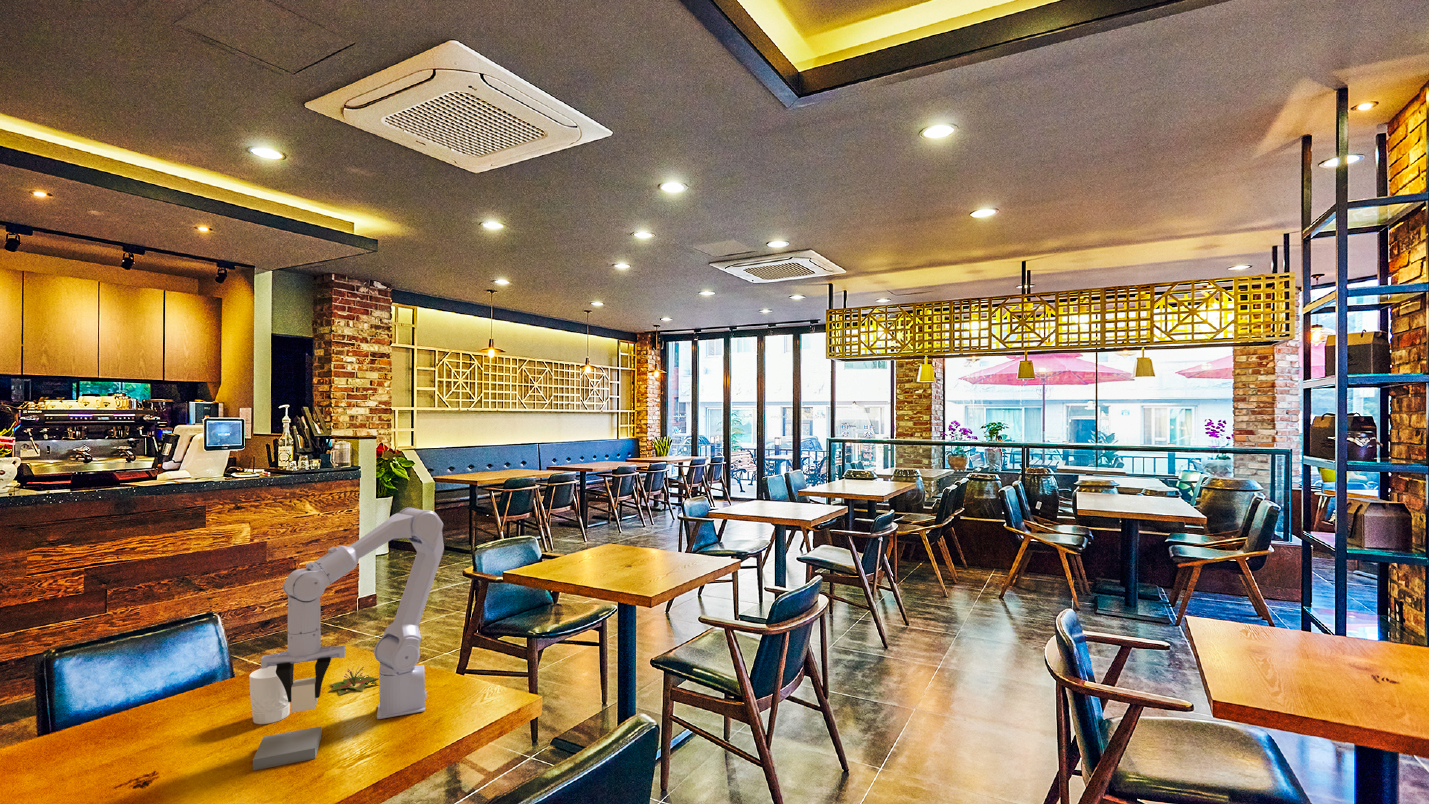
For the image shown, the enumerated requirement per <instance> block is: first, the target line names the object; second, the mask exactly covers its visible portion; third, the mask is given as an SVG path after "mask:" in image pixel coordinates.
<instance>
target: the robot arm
mask: <svg viewBox="0 0 1429 804" xmlns="http://www.w3.org/2000/svg"><path fill="white" fill-rule="evenodd" d="M443 528H444V523H443V521H442V519H441V518H440V516H439V515H438V514H437V513H436V511H433V510H429V509H428V510H427V509H426V510H424V509H419V508H416V507H413V506H412V507H411V506H408V507H405V508H403V509H401V510H400V511H399V512H397V513H395V514H392V515H391V516H389V518H387V519H386V520H385V521H384V522H382V523H381V524H379V525H378V526H377V527H375V528H373V529H372V530H370V531H369V532H368V533H366V534H365V535H364V536H362V537H361V538H359V539H358V540H357V541H355V542H353V543H352V544H350V545H348V546H345V545H338V546H337V547H335V546H331V547H330V548H328V549H327V551H328V552H327V553H325V554H324V555H322V556H320V557H319V558H318V559H316V560H314V561H313V562H311V561H309V562H308V563H306V564H305V566H306V567H305V568H298V569H295V570H292V572H291V573H289V574H288V576H287V578H286V579H285V581H284V583H283V584H282V590H283V592H284V593H285V594H286V595H287V651H283V652H282V651H281V652H278V653H274V654H268V655H262V657H261V658H260V669H263V668H267V667H270V666H277V668H276V674H277V676H278V677H279V679H280V680H281V682H282V684H283V686H284V688H285V691H286V694H287V698H288V702H290V703H291V687H292V685H293V683H294V667H295V664H299V663H306V662H314V661H316V662H315V665H314V673H315V677H316V686H315V698H320V696H321V690H322V686H323V685H322V684H323V680H324V677H325V675H326V673H327V670H328V668H329V667H330V663H331V661H332V659H336V658H339V659H345V657H346V650H347V649H346V646H347V645H336V646H332V645H331V646H322V645H321V644H322V643H321V642H322V641H321V640H322V639H321V638H322V635H321V634H322V632H321V630H322V629H321V625H322V623H321V616H322V615H321V614H322V613H321V608H322V607H321V597H322V596H323V594H324V593H325V590H326V589H327V587H328V586H330V585H331V584H333V583H334V582H336V581H337V580H339V579H341V578H343V577H344V576H346V575H348V574H349V573H350V572H352V571H353V570H354V569H356V568H357V566H358V563H359V560H360V559H361V558H363V557H365V556H366V555H368V554H369V553H371V552H373V551H374V550H376V549H378V548H380V547H381V546H383V545H385V544H388V542H390V541H392V540H394V539H408V540H409V542H410V543H411V544H412V546H413V548H414V549H415V551H416V555H415V558H414V561H413V563H412V566H411V569H410V573H409V576H408V578H407V581H406V584H405V588H404V590H403V593H402V596H401V599H400V602H399V605H398V607H397V611H396V614H395V617H394V618H393V622H391V623H390V624H389V625H388V626H387V627H386V628H385V630H384V632H383V635H382V636H381V637H380V639H379V640H378V641H377V642H376V644H375V646H374V650H373V653H374V659H376V661H377V662H378V663H379V668H378V669H379V670H378V677H379V679H378V680H379V681H378V684H379V685H378V686H379V692H378V693H379V696H378V697H379V703H378V704H377V712H376V720H381V719H382V720H383V719H386V718H387V719H388V718H393V717H394V718H395V717H398V716H404V715H411V714H416V713H421V712H425V711H426V700H427V689H426V685H425V681H426V680H425V677H426V676H425V675H426V674H425V672H426V671H425V665H424V664H423V665H422V664H420V665H419V664H418V662H419V660H420V657H421V649H420V646H421V642H422V635H421V632H420V629H419V628H420V627H419V626H420V623H421V620H422V618H423V614H424V610H425V609H426V606H427V602H428V600H429V596H430V594H431V590H432V587H433V584H434V580H435V578H436V575H437V572H438V569H439V565H440V563H441V561H442V557H443V554H444V550H445V544H444V537H443Z"/></svg>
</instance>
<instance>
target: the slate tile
mask: <svg viewBox="0 0 1429 804" xmlns="http://www.w3.org/2000/svg"><path fill="white" fill-rule="evenodd" d="M322 736H323V735H322V726H316V727H311V728H310V727H309V728H304V729H299V730H293V731H288V732H282V733H277V734H272V735H270V734H269V735H265V736H264V735H263V737H262V739H261V741H260V744H259V745H258V748H257V750H256V752H255V755H254V756H253V758H252V771H258V770H264V769H268V768H273V767H279V766H283V765H284V766H285V765H290V764H293V763H299V762H304V761H305V762H306V761H310V760H314V759H315V760H316V758H317V754H318V752H319V747H320V742H321V740H322Z"/></svg>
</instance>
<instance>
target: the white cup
mask: <svg viewBox="0 0 1429 804" xmlns="http://www.w3.org/2000/svg"><path fill="white" fill-rule="evenodd" d="M276 668H277V666H270V667H267V668H263V669H261V668H258V669H256V670H254V671H252V672H251V673H250V674H249V675H248V677H249V678H248V679H249V695H250V697H249V698H250V704H251V705H250V706H251V707H250V708H251V711H252V712H251V713H252V721H253V723H254V724H257V725H267V724H268V725H269V724H273V723H277V722H279V721H282V720H284V719H286V718H288V716H289V715H290V714H291V702H288V698H287V694H286V691H285V688H284V686H283V684H282V682H281V680H280V679H279V677H278V676H277V674H276Z"/></svg>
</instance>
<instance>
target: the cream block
mask: <svg viewBox="0 0 1429 804" xmlns="http://www.w3.org/2000/svg"><path fill="white" fill-rule="evenodd" d="M315 686H316V676H315V677H307V678H301V679H300V678H299V679H295V680H293V685H292V687H291V702H290V714H291V713H297V712H304V711H310V710H315V709H316V707H317V704H318V702H319V701H318V698H315Z"/></svg>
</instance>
